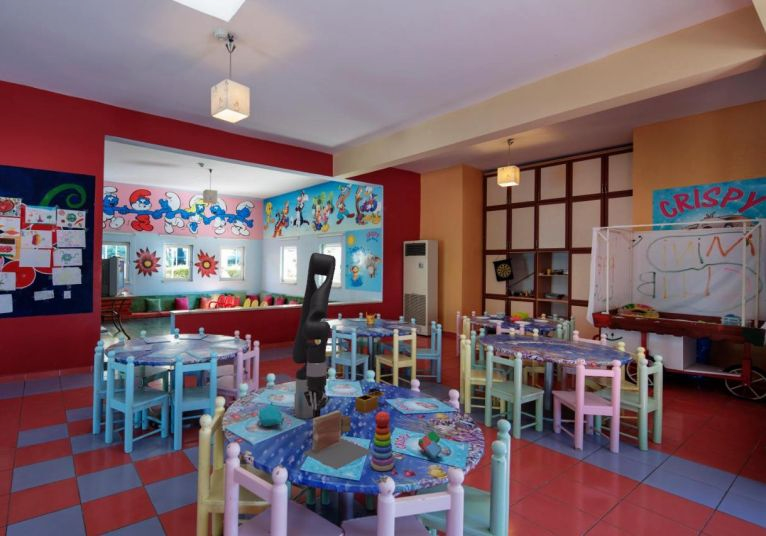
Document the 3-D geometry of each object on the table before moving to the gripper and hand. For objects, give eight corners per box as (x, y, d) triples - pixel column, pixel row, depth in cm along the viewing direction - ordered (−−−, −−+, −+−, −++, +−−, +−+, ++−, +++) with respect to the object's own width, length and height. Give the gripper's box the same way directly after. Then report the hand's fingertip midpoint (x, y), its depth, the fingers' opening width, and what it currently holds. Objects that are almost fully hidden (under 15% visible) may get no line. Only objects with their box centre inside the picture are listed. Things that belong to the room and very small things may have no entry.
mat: (302, 454, 148) (302, 452, 148) (339, 438, 161) (339, 437, 161) (336, 471, 136) (336, 469, 136) (373, 453, 150) (373, 451, 150)
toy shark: (269, 418, 183) (269, 394, 182) (294, 429, 171) (294, 403, 171) (249, 424, 175) (249, 399, 175) (274, 436, 163) (274, 409, 163)
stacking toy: (370, 461, 144) (370, 407, 143) (392, 460, 144) (393, 407, 144) (371, 472, 136) (372, 416, 136) (395, 471, 136) (396, 415, 136)
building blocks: (432, 463, 152) (434, 457, 142) (417, 446, 156) (417, 439, 146) (447, 448, 155) (449, 441, 145) (431, 431, 159) (432, 423, 149)
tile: (312, 451, 149) (313, 418, 149) (337, 441, 158) (337, 410, 158) (316, 453, 148) (316, 420, 147) (340, 442, 157) (341, 411, 156)
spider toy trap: (386, 405, 201) (386, 386, 201) (364, 413, 189) (365, 393, 189) (376, 402, 205) (376, 384, 205) (355, 410, 193) (355, 390, 193)
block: (336, 431, 168) (336, 417, 168) (343, 429, 171) (343, 414, 171) (343, 434, 166) (343, 419, 166) (350, 431, 169) (350, 417, 169)
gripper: (335, 374, 156) (335, 420, 156) (313, 368, 164) (312, 412, 164) (320, 378, 150) (320, 425, 150) (297, 372, 159) (297, 417, 159)
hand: (316, 418), depth 157 cm, fingers closed
